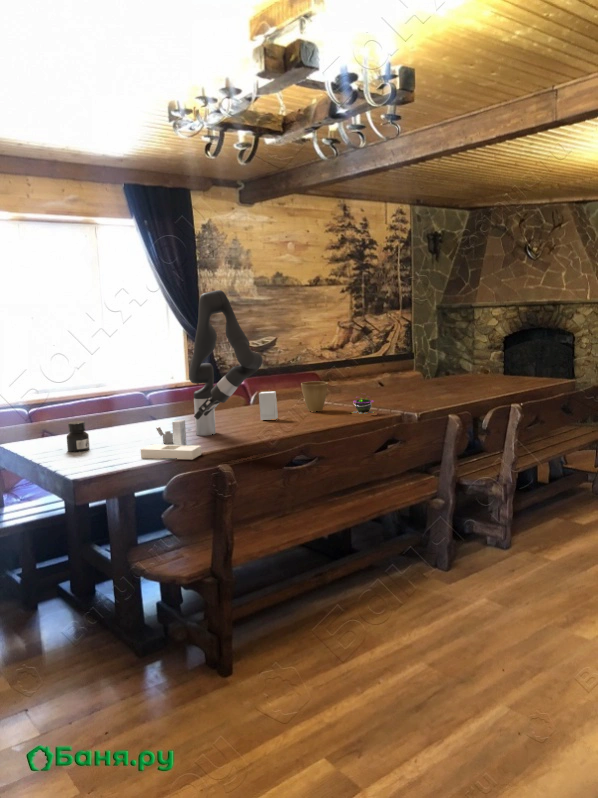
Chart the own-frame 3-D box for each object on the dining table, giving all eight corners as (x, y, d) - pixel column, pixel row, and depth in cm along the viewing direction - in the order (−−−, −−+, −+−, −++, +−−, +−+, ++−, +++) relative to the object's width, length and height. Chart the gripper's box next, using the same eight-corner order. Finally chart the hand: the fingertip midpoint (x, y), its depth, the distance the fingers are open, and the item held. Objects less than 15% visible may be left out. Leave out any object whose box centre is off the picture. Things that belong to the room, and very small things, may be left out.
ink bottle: (82, 452, 264) (80, 424, 263) (63, 452, 266) (60, 424, 264) (93, 447, 274) (91, 420, 272) (75, 447, 275) (72, 420, 274)
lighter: (172, 442, 281) (170, 424, 279) (173, 442, 279) (172, 424, 278) (156, 444, 277) (155, 426, 276) (158, 444, 275) (156, 426, 274)
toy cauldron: (344, 415, 337) (343, 395, 336) (358, 411, 349) (358, 391, 348) (369, 417, 329) (368, 396, 327) (382, 413, 341) (382, 392, 339)
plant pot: (300, 410, 359) (299, 382, 357) (326, 408, 360) (325, 381, 358) (303, 414, 344) (302, 385, 342) (330, 412, 346) (329, 383, 343)
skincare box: (278, 419, 331) (277, 391, 329) (275, 421, 325) (274, 392, 323) (262, 419, 333) (261, 391, 331) (259, 421, 327) (258, 392, 325)
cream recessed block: (151, 452, 260) (151, 444, 259) (201, 454, 254) (201, 445, 254) (141, 457, 251) (140, 449, 251) (192, 459, 246) (191, 450, 245)
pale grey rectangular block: (179, 447, 268) (177, 419, 266) (186, 447, 267) (185, 420, 266) (173, 450, 263) (172, 422, 262) (181, 450, 262) (180, 422, 261)
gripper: (224, 380, 264) (200, 407, 268) (211, 384, 250) (186, 412, 254) (237, 392, 263) (212, 419, 267) (224, 397, 249) (199, 425, 254)
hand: (200, 416), depth 261 cm, fingers open, 8 cm apart
